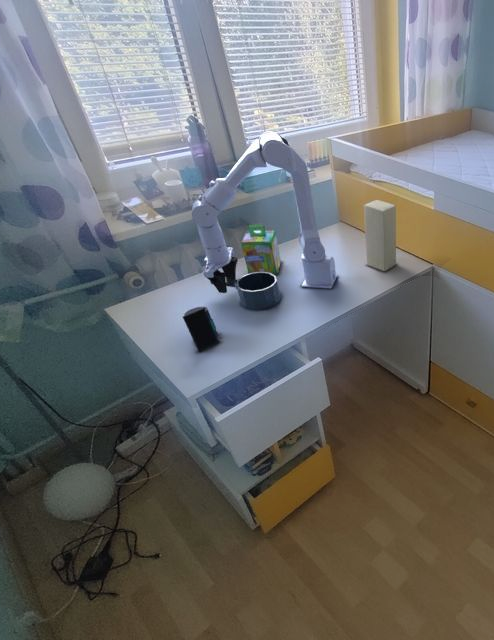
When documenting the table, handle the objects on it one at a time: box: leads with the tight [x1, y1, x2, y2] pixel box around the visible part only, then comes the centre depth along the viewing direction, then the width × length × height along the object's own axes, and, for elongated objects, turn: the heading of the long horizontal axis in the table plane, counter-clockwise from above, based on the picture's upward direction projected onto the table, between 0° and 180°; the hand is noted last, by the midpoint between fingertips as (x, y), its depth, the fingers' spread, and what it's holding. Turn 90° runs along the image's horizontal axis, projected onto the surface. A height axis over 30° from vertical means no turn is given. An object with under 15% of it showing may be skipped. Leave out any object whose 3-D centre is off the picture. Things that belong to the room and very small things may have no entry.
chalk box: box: [240, 224, 282, 276], centre depth 137 cm, size 9×9×15 cm
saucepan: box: [209, 272, 281, 311], centre depth 126 cm, size 20×11×6 cm, turn 80°
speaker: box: [182, 306, 220, 353], centre depth 109 cm, size 8×6×10 cm
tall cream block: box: [363, 199, 397, 272], centre depth 141 cm, size 8×7×21 cm
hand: (227, 286), depth 127 cm, fingers open, 6 cm apart
